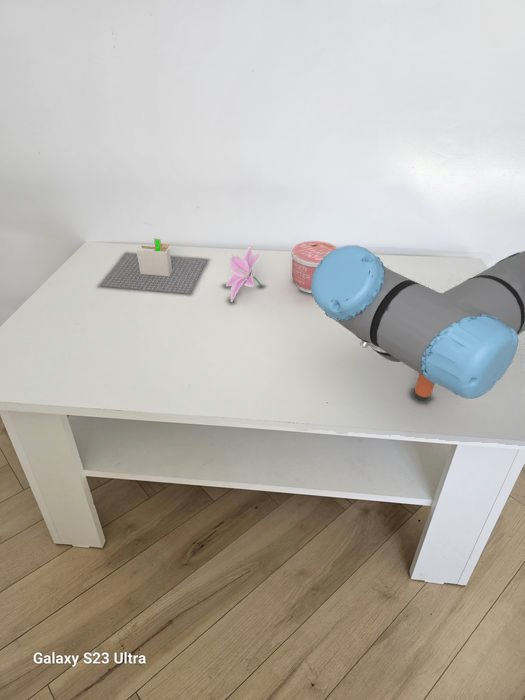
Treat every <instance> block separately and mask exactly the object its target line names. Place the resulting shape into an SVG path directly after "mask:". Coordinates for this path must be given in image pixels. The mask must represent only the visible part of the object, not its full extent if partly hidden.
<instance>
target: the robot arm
mask: <svg viewBox="0 0 525 700" xmlns="http://www.w3.org/2000/svg"><path fill="white" fill-rule="evenodd" d="M311 291H312V293H311V295H312V298H313V301H314V302H315V304H316V305H317V306H318V307H319V308H320V309H321V310H322V311H323V312H324V314H325V315H326V317H328V318H330V319H332V320H333V321H336V322H337V323H338V324H339V325H341V326H342V327H343V328H345V329H346V330H348V331H349V332H350V333H352V334H353V335H354V336H356V337H357V339H359V340H360V343H359V346H360V348H362V349H367V348H368V347H370V348H371V349H372V350H373V351H374V352H376V353H377V354H378V355H379V356H381V358H384V359H385V360H387V361H391V362H395V363H402V364H404V365H406V366H407V367H409V368H410V369H412V370H414V371H415V372H416V373H418V374H421V375H423V376H424V377H425V378H427V380H429V381H431V382H432V383H434V385H438V386H441V387H443V388H444V389H446V390H448V391H449V392H452V393H453V394H454V395H456V396H459V397H461V398H464V399H467V400H473V399H477V398H478V399H479V398H480V397H482V396H484V395H486V394H487V393H488V392H490V391H491V390H492V389H493V388H494V386H495V385H496V383H497V382H498V381H500V380H501V379H502V377H503V376H504V375H505V373H506V372H507V370H508V369H509V367H510V366H511V363H512V362H513V360H514V357H515V355H516V353H517V350H518V348H519V347H518V346H519V335H520V334H522V333H523V332H525V250H523V251H519V252H515V253H513V254H510V255H509V256H507V257H505V258H502V259H501V260H499V261H497V262H496V263H495V264H493V265H492V266H490V267H488V268H487V269H485V270H483V271H481V272H480V273H477V274H476V275H474V276H472V277H470V278H469V277H468V279H466V280H464V281H463V282H461V283H459V284H457V285H455V286H453V287H452V288H449V289H448V290H445V291H444V292H439V291H437V290H435V289H432V288H430V287H428V286H426V285H424V284H421V283H420V282H417V281H414V280H412V279H410V278H409V277H406V276H405V275H402V274H400V273H398V272H396V271H394V270H392V269H390V268H388V267H386V266H385V265H384V262H383V261H382V260H381V258H380V257H379V256H377V255H375V254H374V253H372V252H371V251H370V250H369V249H368V248H366V247H364V246H362V245H357V244H348V245H342V246H339V247H337V249H335V250H333V251H331V252H330V253H328V254H327V255H326V256H325V257H324V258H323V259H322V260H321V262H320V263H319V264H318V266H317V268H316V269H315V271H314V274H313V276H312V281H311Z"/></svg>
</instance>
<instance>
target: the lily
mask: <svg viewBox="0 0 525 700" xmlns="http://www.w3.org/2000/svg"><path fill="white" fill-rule="evenodd" d="M252 250H253V243H251V244H250V245H249V246H248V247H247V249H246V251H245V253H244V255H243V256H241V255H237V254H234V255H233V254H232V255H231V256H230V259H229V265H230V271H231V273H232V274H231V276H230V277H229V278H228V280H227V282H226V284H225V287H231V288H230V302H231V303H233V302H234V300H235V298H236V296H237V294H238V292H239V291H240V289H241V288H242V287H243V285H244V286H246V287H250V288H253V287H254V285H255V283H254V280H255V281H256V282H257V283H258V285H259V287H261V288H263V285H262V284H261V282H260V281H259V280H258V278H257V277H255V276H254V275H253V268H254V267H255V265H256V264H257V262H258V261H259V260H260V258H261V257H262V255H263V253H262V252H256V253H253V254H252Z"/></svg>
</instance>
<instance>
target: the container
mask: <svg viewBox="0 0 525 700" xmlns="http://www.w3.org/2000/svg"><path fill="white" fill-rule="evenodd" d="M337 248H338V247H337V246H336V245H334V244H331V243H330V242H326V241H321V240H320V241H319V240H307V241H302V242H300V243H297V244H295V245H294V246H293V247H292V248H291V251H290V252H291V253H290V254H291V276H292V279H293V282H294V283H295V284H296V287H297V288H298V289H299V290H300V291H302V292H305V293H308V294H312V291H311V281H312V276H313V274H314V271H315V269H316V268H317V266H318V264H319V263H320V262H321V260H322V259H323V258H324V257H325V256H326V255H327V254H328V253H330V252H331V251H333V250H335V249H337Z"/></svg>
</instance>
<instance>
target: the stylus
mask: <svg viewBox="0 0 525 700" xmlns="http://www.w3.org/2000/svg"><path fill="white" fill-rule="evenodd" d="M418 374H419V375H418V377H417V381H416V383H415V388H414V397H415V398H416V399H417V400H419V401H423V402H424V401H425V402H426V401H427V400H429V398H430V396H431V395H432V393H433V390H434V386H435V384H434V383H432V382H431V381H429V380H427V378H425V377H424V376H423V375H421V374H420V373H418Z"/></svg>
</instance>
